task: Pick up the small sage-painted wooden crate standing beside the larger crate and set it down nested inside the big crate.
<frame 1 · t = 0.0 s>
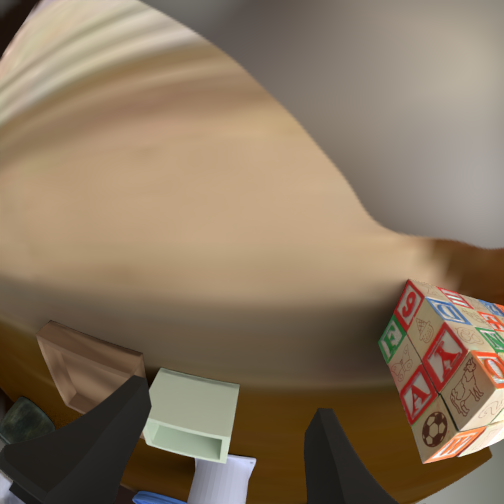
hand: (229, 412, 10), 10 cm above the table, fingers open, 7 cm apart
bowl: (169, 501, 43), on the table
mug: (38, 414, 34), on the table
stack of blocks: (469, 325, 19), on the table
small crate: (198, 394, 23), on the table
big crate: (101, 376, 25), on the table
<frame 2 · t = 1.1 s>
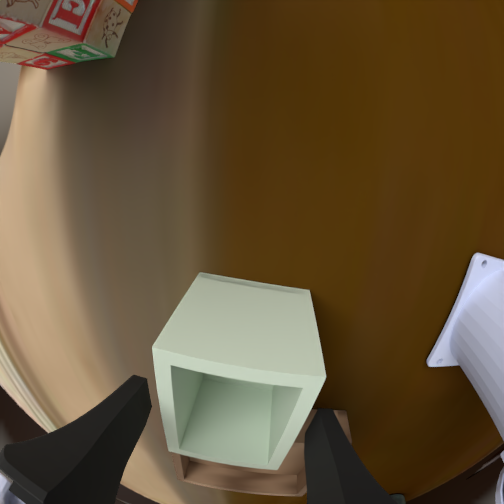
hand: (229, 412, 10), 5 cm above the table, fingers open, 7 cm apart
mug: (380, 502, 26), on the table
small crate: (244, 341, 15), on the table
big crate: (251, 443, 18), on the table
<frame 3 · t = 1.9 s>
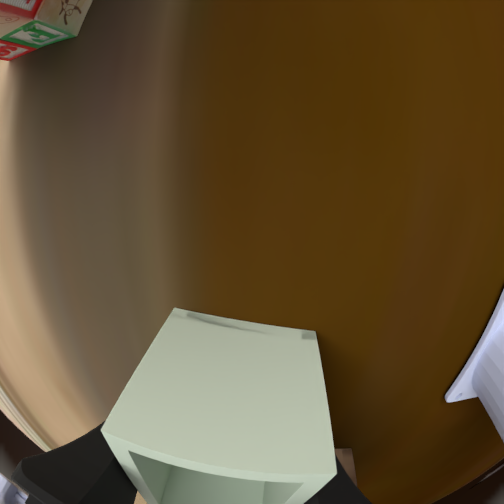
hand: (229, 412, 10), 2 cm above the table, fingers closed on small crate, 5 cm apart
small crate: (234, 385, 11), on the table, touching gripper
big crate: (246, 477, 15), on the table
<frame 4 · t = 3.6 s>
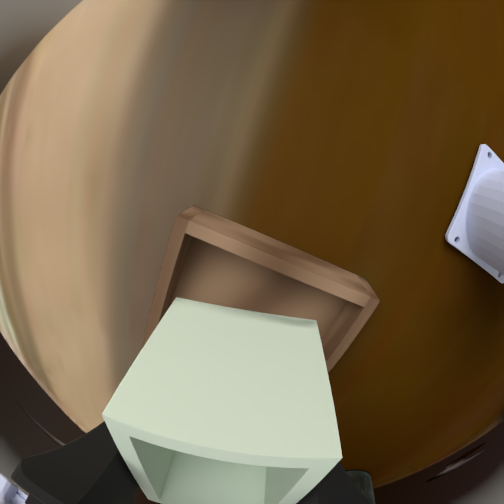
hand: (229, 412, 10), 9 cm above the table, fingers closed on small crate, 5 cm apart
mug: (342, 482, 29), on the table
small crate: (235, 377, 11), point 7 cm above the table, touching gripper
big crate: (247, 318, 19), on the table
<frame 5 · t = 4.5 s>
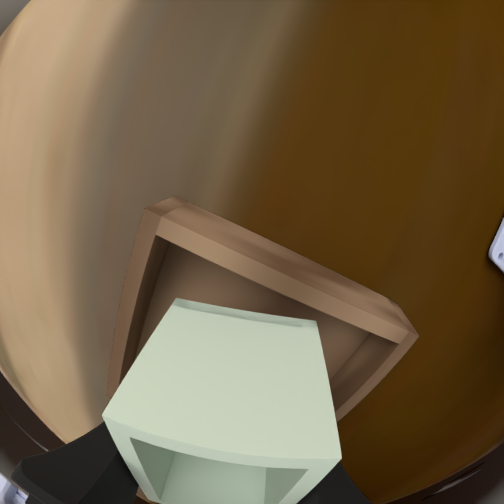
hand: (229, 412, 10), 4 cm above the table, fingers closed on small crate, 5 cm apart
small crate: (235, 377, 11), point 3 cm above the table, touching gripper
big crate: (242, 347, 14), on the table
when the fingers open (4 cm above the table, at t = 5.2 s): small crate drops 1 cm, resting on big crate.
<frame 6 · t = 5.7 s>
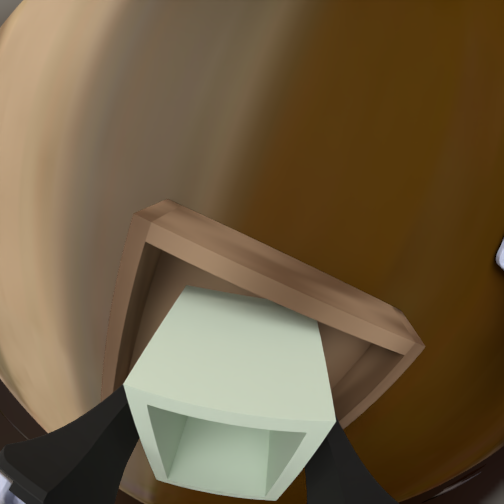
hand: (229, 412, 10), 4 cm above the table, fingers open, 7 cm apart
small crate: (239, 361, 13), point 1 cm above the table, touching big crate
big crate: (239, 357, 13), on the table
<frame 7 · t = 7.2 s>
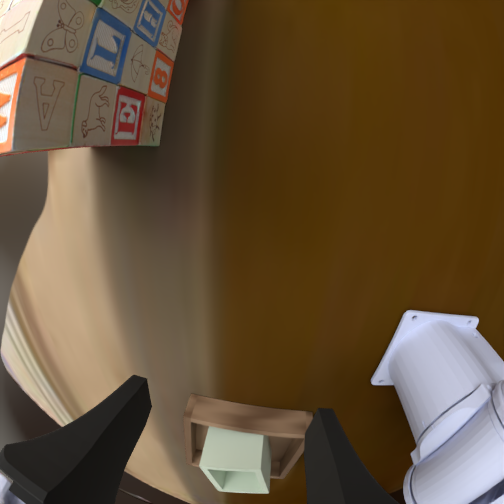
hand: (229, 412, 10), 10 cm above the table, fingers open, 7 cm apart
stack of blocks: (149, 18, 13), on the table
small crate: (243, 437, 24), point 1 cm above the table, touching big crate
big crate: (244, 434, 25), on the table
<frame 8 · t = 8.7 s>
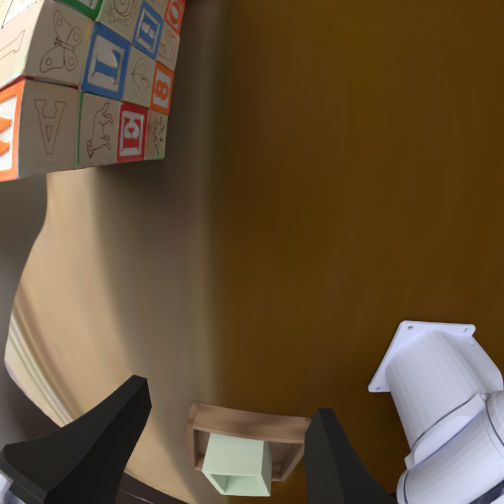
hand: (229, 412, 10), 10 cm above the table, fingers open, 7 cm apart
stack of blocks: (145, 28, 13), on the table
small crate: (244, 442, 25), point 1 cm above the table, touching big crate
big crate: (245, 439, 25), on the table
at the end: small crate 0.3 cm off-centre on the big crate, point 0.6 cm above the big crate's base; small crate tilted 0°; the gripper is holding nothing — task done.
